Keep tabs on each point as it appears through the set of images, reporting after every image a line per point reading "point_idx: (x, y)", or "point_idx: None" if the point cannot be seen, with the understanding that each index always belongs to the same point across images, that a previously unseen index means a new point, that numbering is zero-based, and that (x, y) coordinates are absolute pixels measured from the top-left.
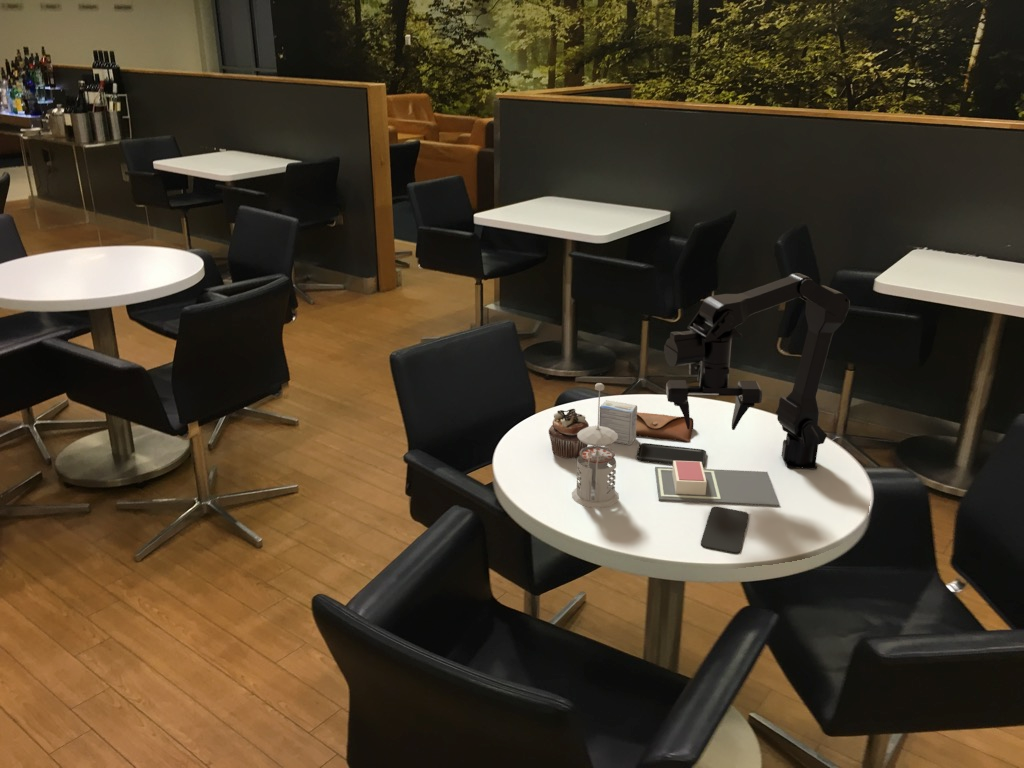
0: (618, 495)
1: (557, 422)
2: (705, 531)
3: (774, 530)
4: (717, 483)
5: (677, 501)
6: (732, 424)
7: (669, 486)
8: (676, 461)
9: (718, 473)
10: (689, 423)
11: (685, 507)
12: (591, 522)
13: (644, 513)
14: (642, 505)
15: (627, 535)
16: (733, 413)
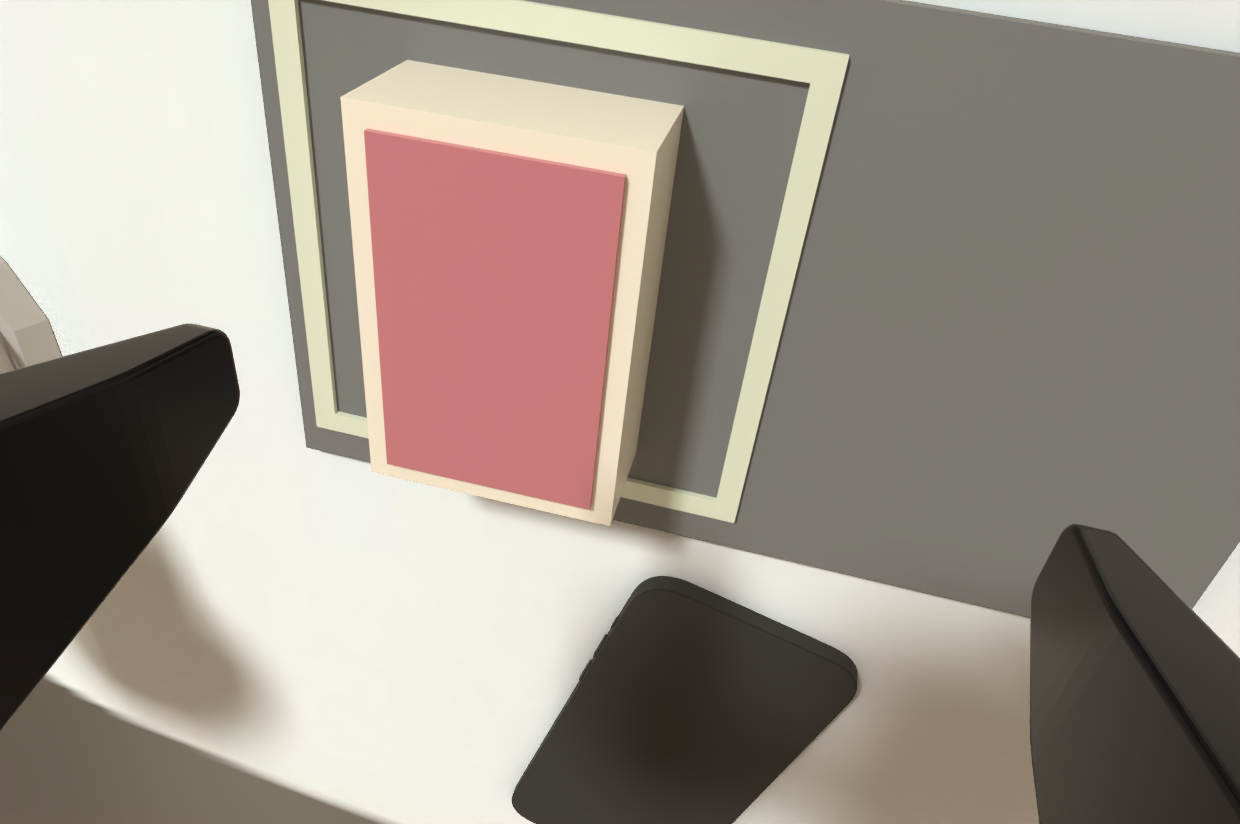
0: (55, 345)
1: None
2: (549, 748)
3: (947, 801)
4: (796, 300)
5: None
6: (1061, 651)
7: None
8: (372, 137)
9: (884, 107)
10: (146, 534)
11: (480, 531)
12: None
13: (242, 542)
14: (221, 469)
15: (189, 675)
16: (1213, 794)
